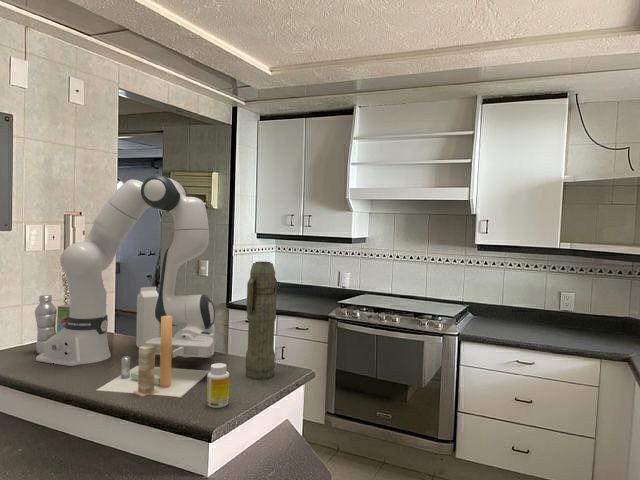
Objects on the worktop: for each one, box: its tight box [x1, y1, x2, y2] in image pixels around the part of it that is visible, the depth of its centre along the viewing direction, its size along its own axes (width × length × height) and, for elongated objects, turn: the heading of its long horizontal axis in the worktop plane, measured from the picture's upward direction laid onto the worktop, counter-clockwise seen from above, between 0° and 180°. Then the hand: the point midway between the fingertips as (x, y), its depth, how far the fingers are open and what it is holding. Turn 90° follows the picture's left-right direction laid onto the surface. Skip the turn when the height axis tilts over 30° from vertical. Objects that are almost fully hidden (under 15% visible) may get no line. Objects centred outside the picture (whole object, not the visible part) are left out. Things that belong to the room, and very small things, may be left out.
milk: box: [135, 286, 160, 348], centre depth 175 cm, size 6×6×22 cm
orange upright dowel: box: [131, 316, 173, 386], centre depth 136 cm, size 14×3×19 cm, turn 66°
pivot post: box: [120, 355, 131, 379], centre depth 140 cm, size 2×2×6 cm
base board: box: [96, 365, 211, 399], centre depth 139 cm, size 24×22×1 cm
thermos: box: [245, 260, 278, 381], centre depth 147 cm, size 9×12×35 cm
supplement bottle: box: [206, 362, 230, 409], centre depth 123 cm, size 6×6×10 cm
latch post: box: [132, 345, 160, 398], centre depth 129 cm, size 5×5×13 cm
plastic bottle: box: [34, 294, 58, 355], centre depth 163 cm, size 6×7×20 cm
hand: (169, 354), depth 135 cm, fingers closed, pressing on orange upright dowel
